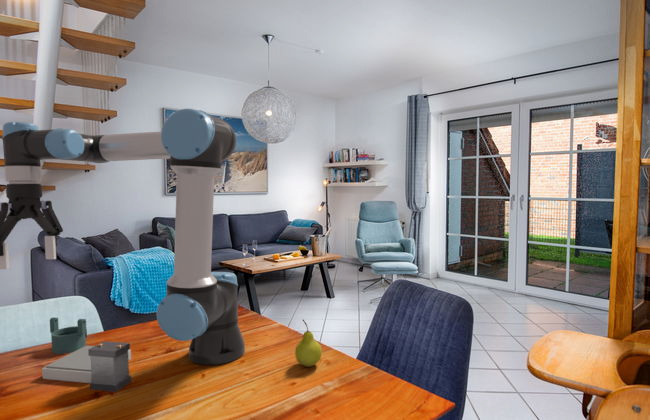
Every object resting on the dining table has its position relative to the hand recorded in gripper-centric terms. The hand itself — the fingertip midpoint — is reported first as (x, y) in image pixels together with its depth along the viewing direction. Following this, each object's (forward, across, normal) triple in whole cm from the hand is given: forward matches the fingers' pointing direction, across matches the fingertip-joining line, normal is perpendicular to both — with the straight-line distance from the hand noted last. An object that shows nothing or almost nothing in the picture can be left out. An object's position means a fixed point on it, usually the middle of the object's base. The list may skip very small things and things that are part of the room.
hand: (28, 263), depth 105 cm
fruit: (+28, -11, +73) cm, 79 cm away
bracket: (+27, -11, +1) cm, 29 cm away
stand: (+27, 0, +17) cm, 32 cm away
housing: (+27, +7, +29) cm, 40 cm away
